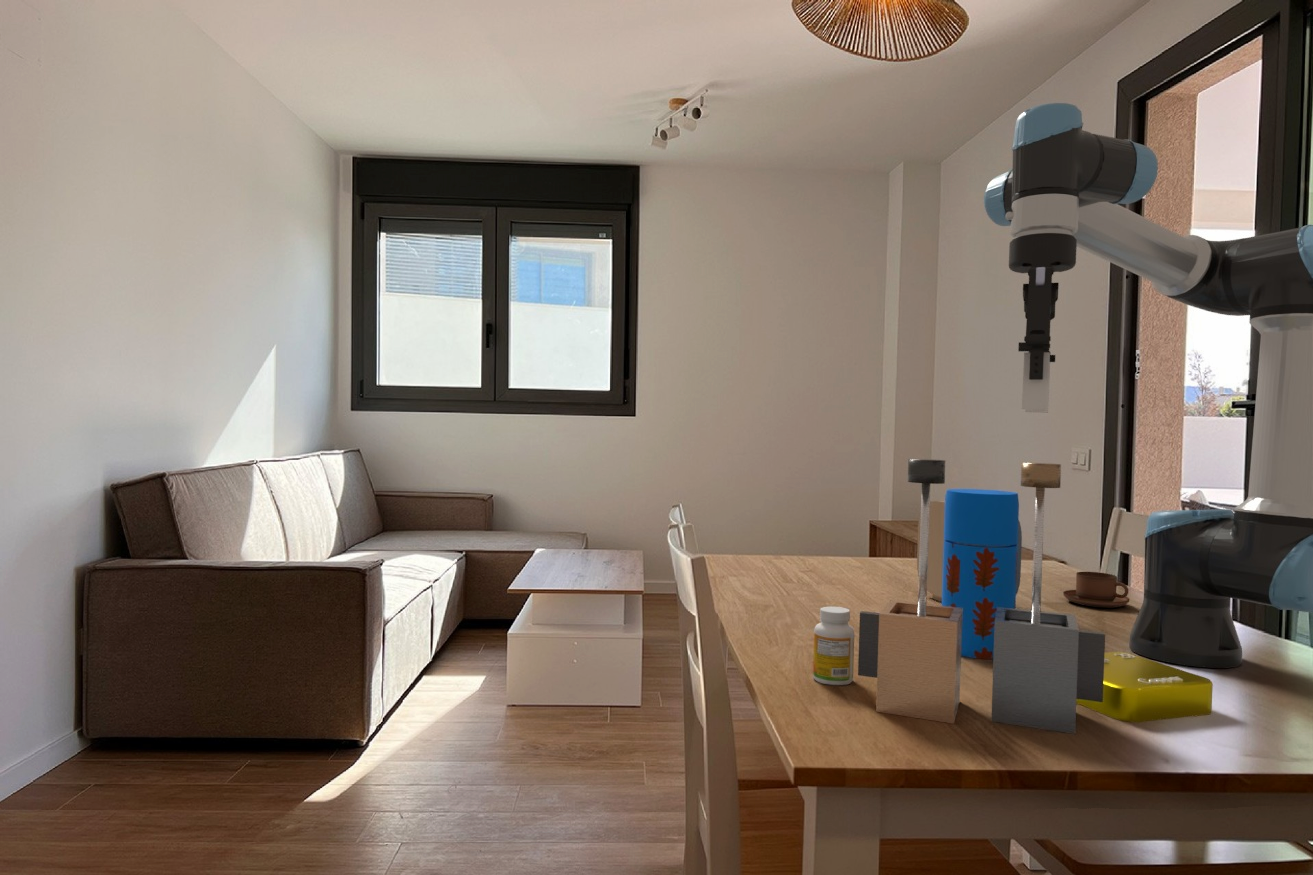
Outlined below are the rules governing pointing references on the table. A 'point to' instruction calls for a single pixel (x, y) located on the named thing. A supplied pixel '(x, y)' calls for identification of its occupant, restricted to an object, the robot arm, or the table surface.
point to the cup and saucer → (1097, 590)
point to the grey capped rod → (925, 517)
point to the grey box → (1044, 669)
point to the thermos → (980, 562)
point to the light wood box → (913, 659)
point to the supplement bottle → (833, 647)
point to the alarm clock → (937, 546)
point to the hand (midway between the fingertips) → (1035, 411)
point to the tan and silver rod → (1039, 522)
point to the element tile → (1149, 690)
